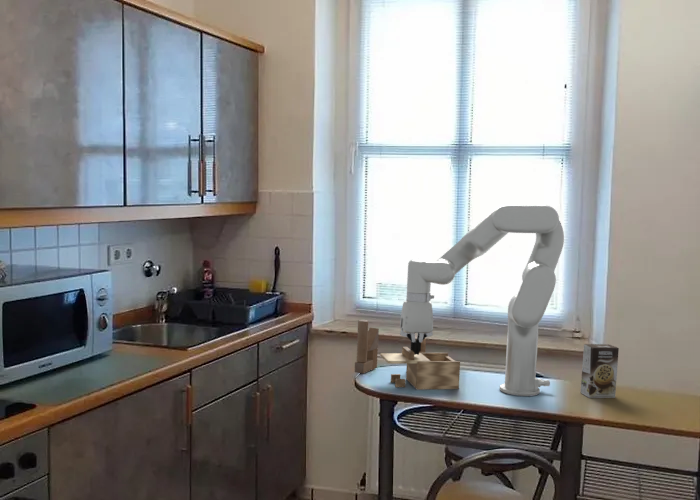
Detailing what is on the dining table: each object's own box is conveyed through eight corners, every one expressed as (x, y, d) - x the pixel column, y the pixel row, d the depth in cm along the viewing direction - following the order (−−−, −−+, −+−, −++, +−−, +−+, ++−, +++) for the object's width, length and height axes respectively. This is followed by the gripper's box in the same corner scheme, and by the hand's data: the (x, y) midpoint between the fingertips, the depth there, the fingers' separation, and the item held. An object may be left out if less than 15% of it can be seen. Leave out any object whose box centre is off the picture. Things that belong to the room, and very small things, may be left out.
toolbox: (446, 378, 257) (447, 352, 257) (458, 388, 245) (460, 361, 244) (388, 379, 254) (389, 353, 253) (398, 389, 241) (399, 361, 240)
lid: (420, 355, 254) (421, 346, 254) (430, 363, 243) (430, 353, 243) (380, 355, 251) (380, 346, 251) (388, 363, 241) (388, 353, 240)
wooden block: (377, 368, 269) (379, 317, 268) (363, 374, 260) (365, 321, 258) (368, 366, 271) (370, 316, 270) (353, 372, 262) (355, 320, 260)
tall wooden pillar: (421, 369, 269) (422, 336, 268) (424, 372, 265) (426, 338, 264) (410, 369, 268) (411, 336, 267) (413, 372, 265) (414, 338, 264)
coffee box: (589, 398, 239) (592, 347, 238) (579, 392, 245) (582, 343, 244) (616, 398, 241) (619, 347, 239) (606, 392, 247) (609, 343, 246)
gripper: (436, 296, 251) (434, 351, 253) (392, 295, 249) (390, 351, 250) (443, 299, 244) (440, 356, 246) (398, 299, 241) (395, 356, 243)
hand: (415, 353), depth 248 cm, fingers closed
